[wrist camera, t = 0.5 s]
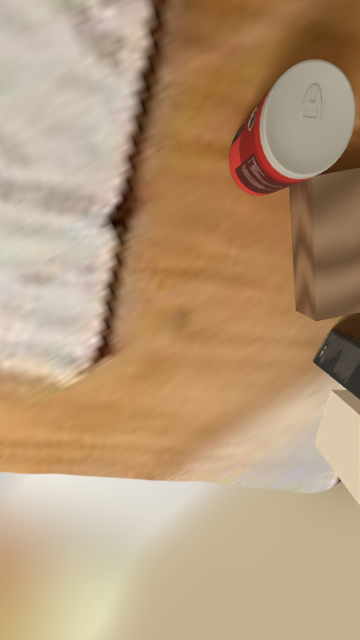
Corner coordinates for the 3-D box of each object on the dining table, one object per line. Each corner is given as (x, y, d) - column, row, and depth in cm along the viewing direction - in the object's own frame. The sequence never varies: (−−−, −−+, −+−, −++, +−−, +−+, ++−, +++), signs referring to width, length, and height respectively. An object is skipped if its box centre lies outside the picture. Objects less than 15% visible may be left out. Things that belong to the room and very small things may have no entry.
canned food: (287, 112, 30) (356, 46, 20) (294, 188, 33) (358, 165, 22) (221, 128, 30) (255, 70, 20) (233, 203, 33) (269, 187, 22)
